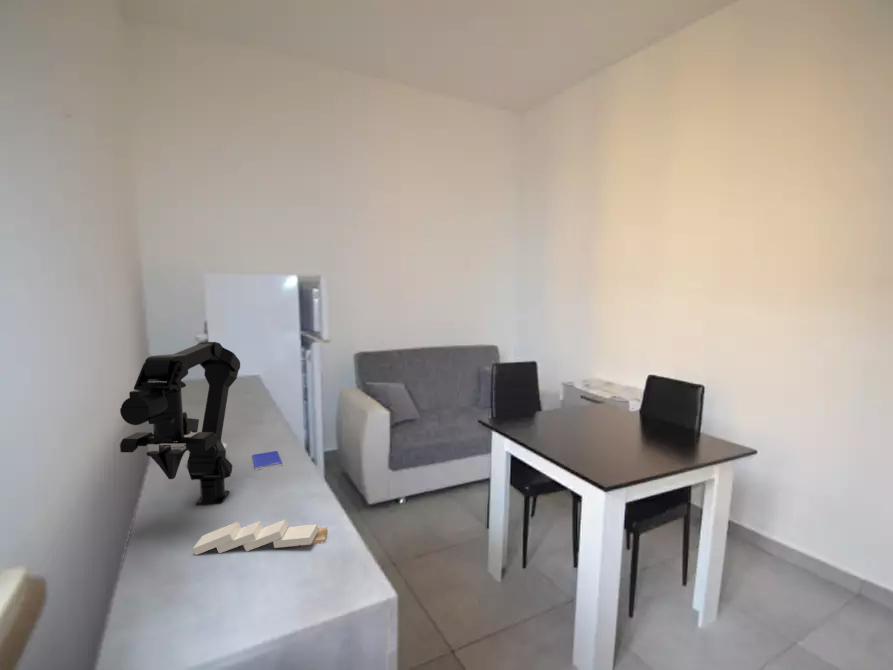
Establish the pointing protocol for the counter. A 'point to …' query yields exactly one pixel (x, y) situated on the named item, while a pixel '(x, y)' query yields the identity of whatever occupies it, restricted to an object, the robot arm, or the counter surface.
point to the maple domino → (320, 535)
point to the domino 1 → (216, 538)
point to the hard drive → (266, 460)
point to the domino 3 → (268, 535)
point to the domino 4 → (297, 536)
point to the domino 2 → (242, 537)
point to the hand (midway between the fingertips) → (172, 478)
